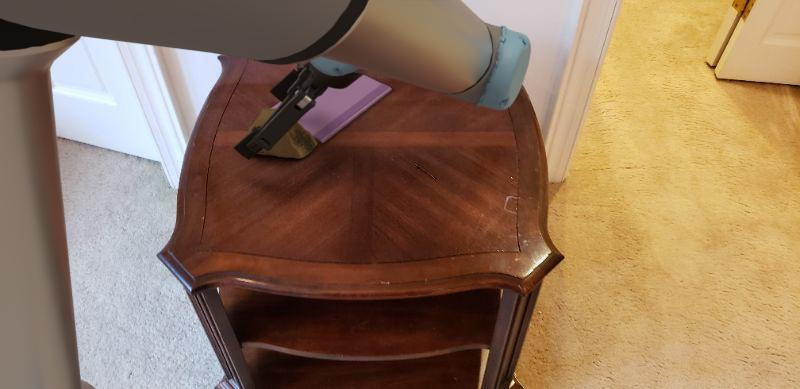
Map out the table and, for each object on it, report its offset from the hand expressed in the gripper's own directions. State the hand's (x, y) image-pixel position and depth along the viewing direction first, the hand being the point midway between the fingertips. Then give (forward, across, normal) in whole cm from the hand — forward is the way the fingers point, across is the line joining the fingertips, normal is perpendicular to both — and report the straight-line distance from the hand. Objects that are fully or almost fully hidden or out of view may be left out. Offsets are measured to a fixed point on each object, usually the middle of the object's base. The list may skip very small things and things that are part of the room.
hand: (260, 122), depth 85 cm
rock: (+3, +1, -6) cm, 6 cm away
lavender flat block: (0, +15, -8) cm, 17 cm away
